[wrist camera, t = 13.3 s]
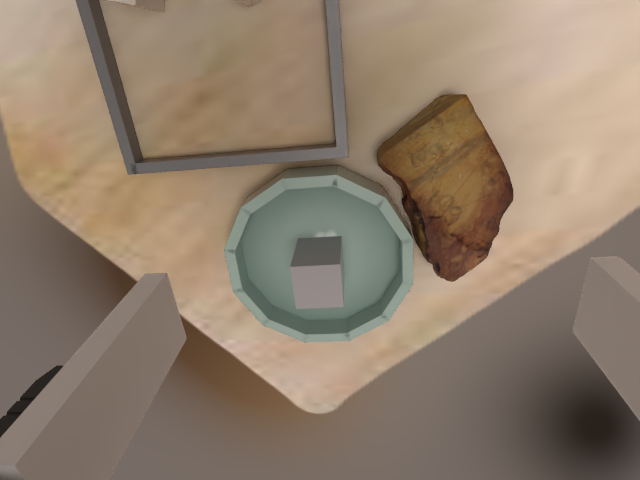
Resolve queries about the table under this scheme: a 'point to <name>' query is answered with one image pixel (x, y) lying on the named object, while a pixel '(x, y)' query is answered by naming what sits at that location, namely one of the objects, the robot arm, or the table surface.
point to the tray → (138, 165)
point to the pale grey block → (248, 2)
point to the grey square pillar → (318, 272)
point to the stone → (449, 184)
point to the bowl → (321, 221)
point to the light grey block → (143, 4)
